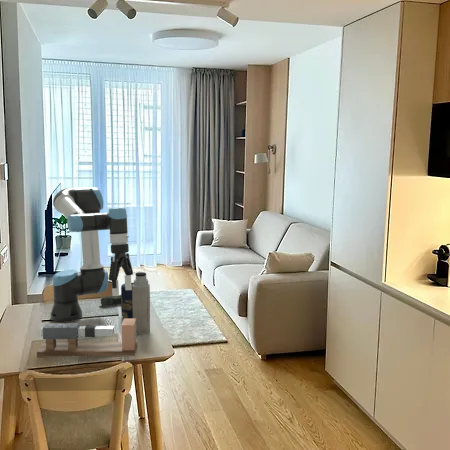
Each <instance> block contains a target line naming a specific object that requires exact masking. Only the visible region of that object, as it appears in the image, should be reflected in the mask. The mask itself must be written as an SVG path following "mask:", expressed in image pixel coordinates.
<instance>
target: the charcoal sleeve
mask: <svg viewBox="0 0 450 450" xmlns="http://www.w3.org/2000/svg"><path fill="white" fill-rule="evenodd" d="M43 326H44V327H43ZM43 326H42V327H43V336H42V340H46V339H56V340H68V339H79V338H80V336H78V331H77V328H78V327H79V326H81V324H80V322H77V323H76V322H75V323H72V322H70V323H69V322H58V323H57V322H56V323H55V322H54V323H45V324H44V325H43Z"/></svg>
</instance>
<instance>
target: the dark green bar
mask: <svg viewBox="0 0 450 450" xmlns="http://www.w3.org/2000/svg"><path fill="white" fill-rule="evenodd" d="M100 304H101V305H99V308H103V307H109V306H116V305H121V294H119V296H112V295H107V296H103V297H102V298H101V299H100Z"/></svg>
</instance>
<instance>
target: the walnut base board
mask: <svg viewBox="0 0 450 450" xmlns="http://www.w3.org/2000/svg"><path fill="white" fill-rule="evenodd" d="M78 339H79V338H78ZM78 339H67V342H66V341H65V342H64V341H63V342H59V341H57V339H45V342H43V343H41V346H40V347H39V348H38V350H37V351H36V357H37V356H38V358H39V357H40V358H41V357H43V358H44V357H45V358H47V357H53V358H54V357H55V358H56V357H135V356H136V354H137V350H138V344H139V343H138V341H136V345H135V349H134V350H122V341H81V342H80V341H79V340H78Z"/></svg>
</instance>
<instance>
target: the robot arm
mask: <svg viewBox="0 0 450 450" xmlns="http://www.w3.org/2000/svg"><path fill="white" fill-rule="evenodd" d="M102 194H103V193H102V192H101V190H100V188H98V187H94V186H86V187H83V186H82V187H66V188H64V189H61V190H59V191H58V192H57V193H55V196H54V198H53V200H52V204H53V208H54V209H55V211H57V212H58V213H60V214H62V215H63V216H64V217H65V219H66V224H67V228H68V231H69V232H71V233H80V238H81V251H82V252H81V253H82V255H81V256H82V265H81V267H80V268H79V269H80V271H79V272H78V270H76V269H64V270H61V271H57V272H55V274H54V275H53V277H52V289H53V290H52V291H53V293H52V294H53V305H52V308H51V311H50V320H51V321H53V322H56V323H57V322H58V323H69V322H70V323H71V322H74V321H75V322H76V321H77V320H80V319H81V318H82V317H83V311H82V308H81V306H80V302H79V296H87V295H93V294H96V295H97V294H100V293H105V292H106V290H107V289H108V285H109V281H110V282H111V294H112V295H111V296H119V295H120V289H119V288H120V285H119V279H118V277H119V273H120V269H121V268H122V270H123V272H124V274H125V275H124V284H125V290H132V285H131V283H132V275H134V272H133V271H134V270H133V267H132V264H131V259H130V253H129V250H130V248H129V237H130V236H129V235H128V234H129V233H128V232H129V231H128V218H127V217H128V214H127V209H126V208H125V207H111V208H108V212H101V210H103V209H104V197H103V195H102ZM106 230H109V243H110V244H111V245H110V253H111V254H114V256H111V257H110V266H109V267H110V268H109V273H108V270H107V269H106V268H105V266H104V265H103V264H102V263H101V253H100V252H101V251H100V250H101V249H100V240H99V239H100V238H99V231H106Z"/></svg>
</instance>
